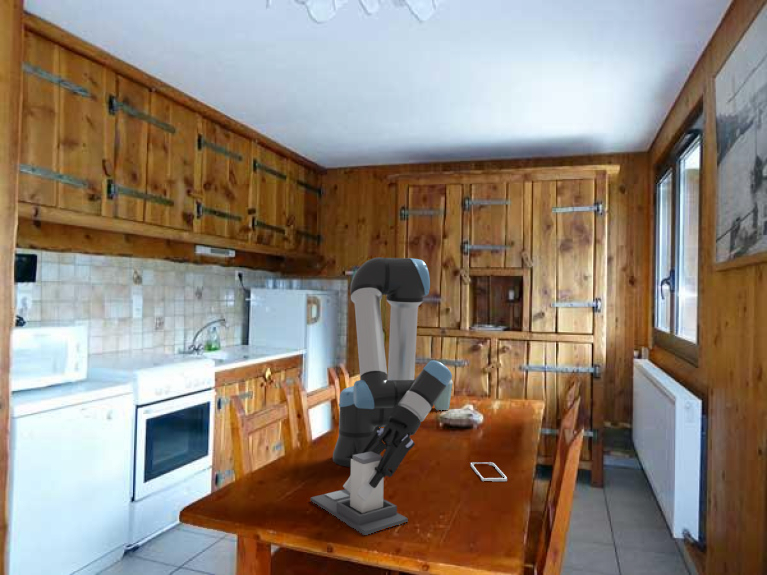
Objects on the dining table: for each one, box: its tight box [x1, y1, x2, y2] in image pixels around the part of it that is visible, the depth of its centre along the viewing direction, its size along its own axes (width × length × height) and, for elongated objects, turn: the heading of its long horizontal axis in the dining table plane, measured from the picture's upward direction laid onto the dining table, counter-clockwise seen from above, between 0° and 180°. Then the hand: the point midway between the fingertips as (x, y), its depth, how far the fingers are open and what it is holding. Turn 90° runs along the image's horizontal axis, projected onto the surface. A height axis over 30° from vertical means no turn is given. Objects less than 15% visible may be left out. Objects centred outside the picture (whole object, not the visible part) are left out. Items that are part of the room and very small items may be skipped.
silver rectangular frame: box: [470, 461, 508, 482], centre depth 160 cm, size 7×1×15 cm
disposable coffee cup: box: [433, 379, 454, 412], centre depth 251 cm, size 11×11×15 cm
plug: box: [350, 452, 385, 513], centre depth 127 cm, size 5×6×12 cm
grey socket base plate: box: [310, 488, 409, 536], centre depth 130 cm, size 24×12×3 cm, turn 37°
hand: (353, 493), depth 124 cm, fingers closed on plug, 5 cm apart
